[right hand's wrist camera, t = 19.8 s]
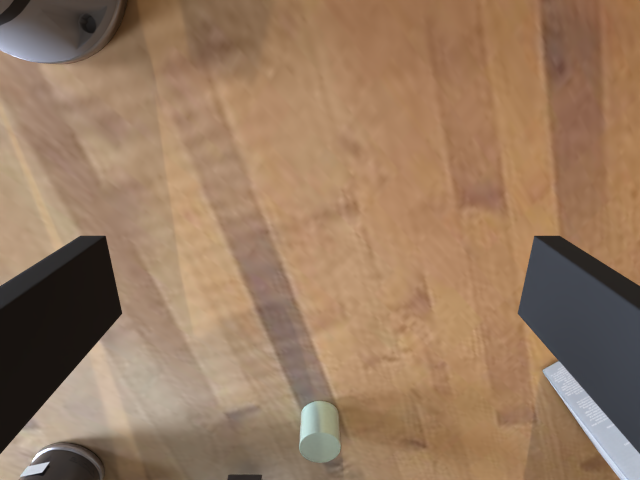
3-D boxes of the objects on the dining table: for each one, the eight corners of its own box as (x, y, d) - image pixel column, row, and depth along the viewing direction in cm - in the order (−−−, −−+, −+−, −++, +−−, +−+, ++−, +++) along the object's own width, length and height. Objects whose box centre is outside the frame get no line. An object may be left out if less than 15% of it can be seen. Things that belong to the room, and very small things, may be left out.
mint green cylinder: (301, 429, 53) (299, 463, 48) (300, 400, 51) (298, 432, 46) (338, 429, 53) (340, 462, 48) (339, 400, 51) (341, 432, 46)
